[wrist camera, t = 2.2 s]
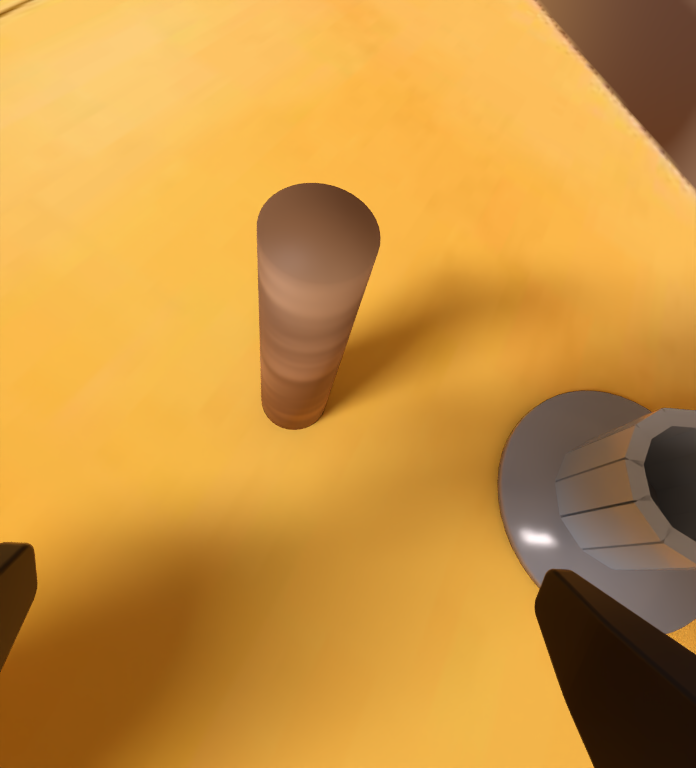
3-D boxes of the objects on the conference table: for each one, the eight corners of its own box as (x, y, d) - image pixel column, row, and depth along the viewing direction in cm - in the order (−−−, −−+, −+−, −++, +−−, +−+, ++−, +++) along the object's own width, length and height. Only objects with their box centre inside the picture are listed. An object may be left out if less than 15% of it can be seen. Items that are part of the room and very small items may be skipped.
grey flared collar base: (760, 554, 24) (891, 548, 19) (598, 691, 21) (707, 729, 15) (615, 362, 28) (695, 314, 22) (452, 451, 24) (504, 417, 19)
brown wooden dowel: (336, 413, 24) (402, 259, 12) (278, 440, 23) (291, 300, 11) (308, 360, 24) (344, 170, 13) (250, 384, 23) (236, 201, 12)
